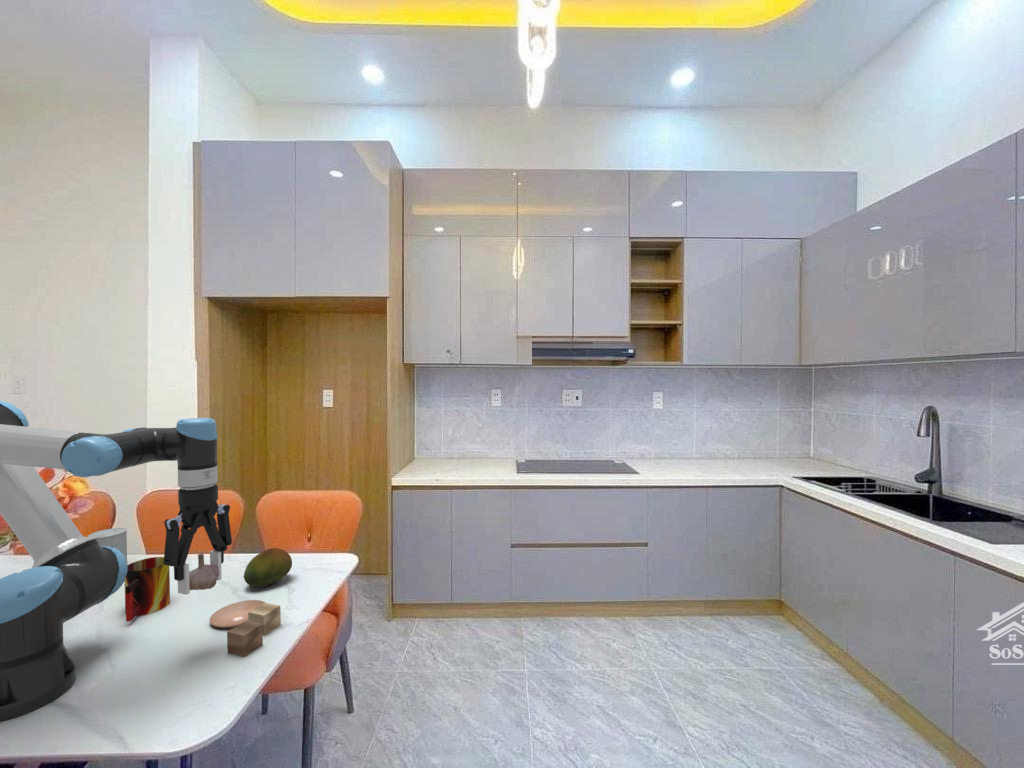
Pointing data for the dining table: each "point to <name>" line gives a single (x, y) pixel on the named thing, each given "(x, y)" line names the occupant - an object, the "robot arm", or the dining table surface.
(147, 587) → the mug
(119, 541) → the grey concrete cylinder
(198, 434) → the robot arm
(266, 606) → the oak block
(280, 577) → the fruit
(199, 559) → the garlic bulb
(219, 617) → the peach ellipsoid
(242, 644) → the walnut block
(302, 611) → the dining table surface
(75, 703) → the dining table surface
